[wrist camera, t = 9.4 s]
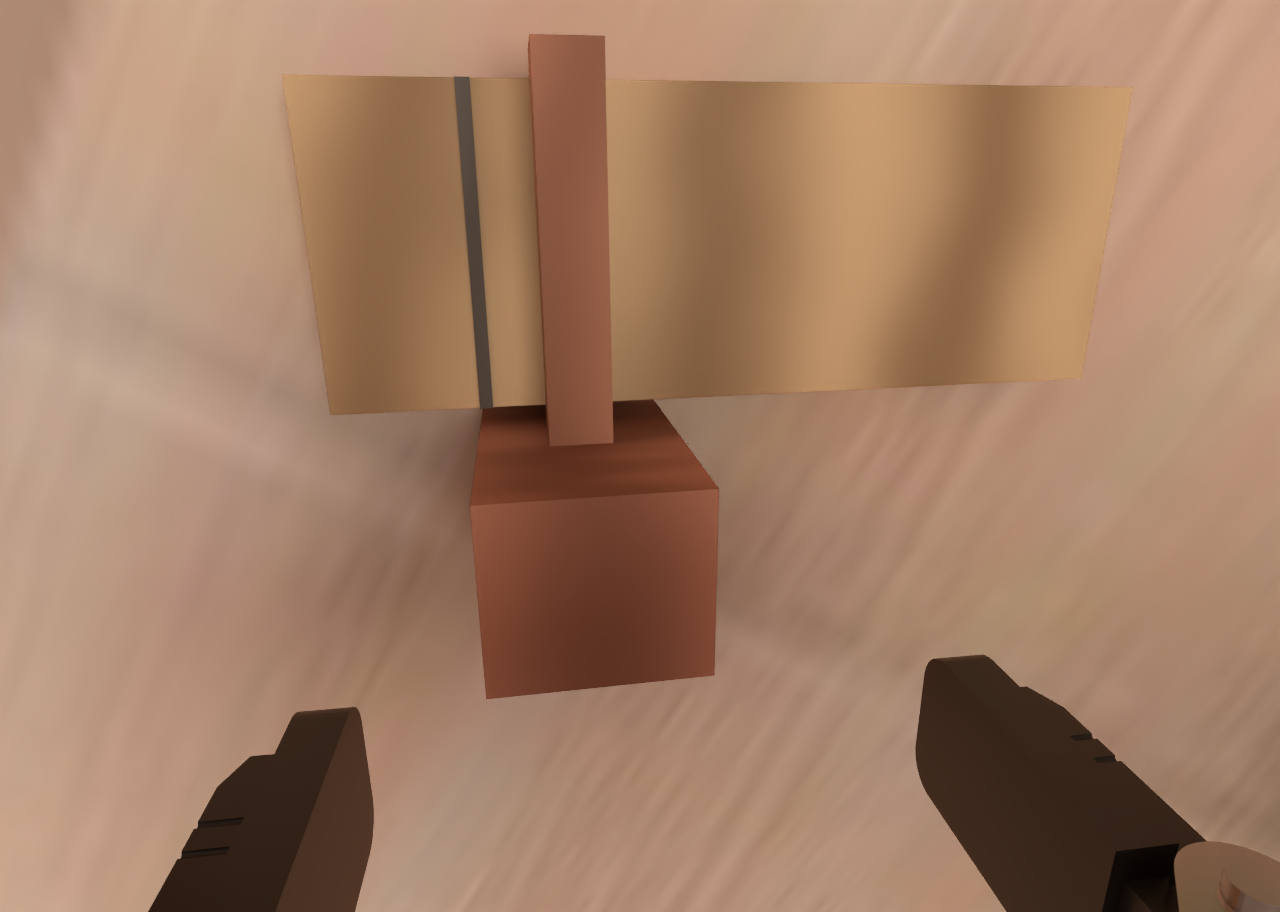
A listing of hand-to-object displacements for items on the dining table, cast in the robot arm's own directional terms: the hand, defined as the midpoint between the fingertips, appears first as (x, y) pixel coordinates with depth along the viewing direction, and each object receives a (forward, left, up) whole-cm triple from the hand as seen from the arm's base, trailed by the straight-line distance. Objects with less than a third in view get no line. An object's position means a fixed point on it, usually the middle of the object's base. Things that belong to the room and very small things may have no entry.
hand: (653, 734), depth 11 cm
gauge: (0, -4, -11) cm, 12 cm away
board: (-4, -6, -11) cm, 13 cm away
